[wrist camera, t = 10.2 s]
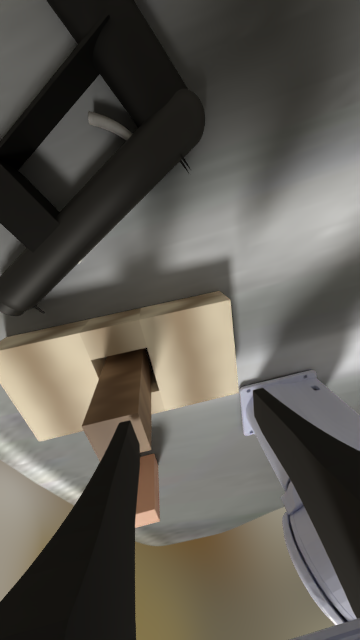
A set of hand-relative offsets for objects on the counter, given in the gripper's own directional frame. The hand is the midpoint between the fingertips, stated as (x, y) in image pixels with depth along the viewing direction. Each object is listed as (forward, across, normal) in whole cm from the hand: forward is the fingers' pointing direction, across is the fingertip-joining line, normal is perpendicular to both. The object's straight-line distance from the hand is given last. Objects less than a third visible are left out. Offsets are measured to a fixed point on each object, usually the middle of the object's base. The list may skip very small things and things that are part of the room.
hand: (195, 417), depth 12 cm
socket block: (+10, +5, +1) cm, 11 cm away
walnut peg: (+10, +5, +1) cm, 11 cm away
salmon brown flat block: (+10, +9, +17) cm, 22 cm away
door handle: (+11, +7, -17) cm, 21 cm away
